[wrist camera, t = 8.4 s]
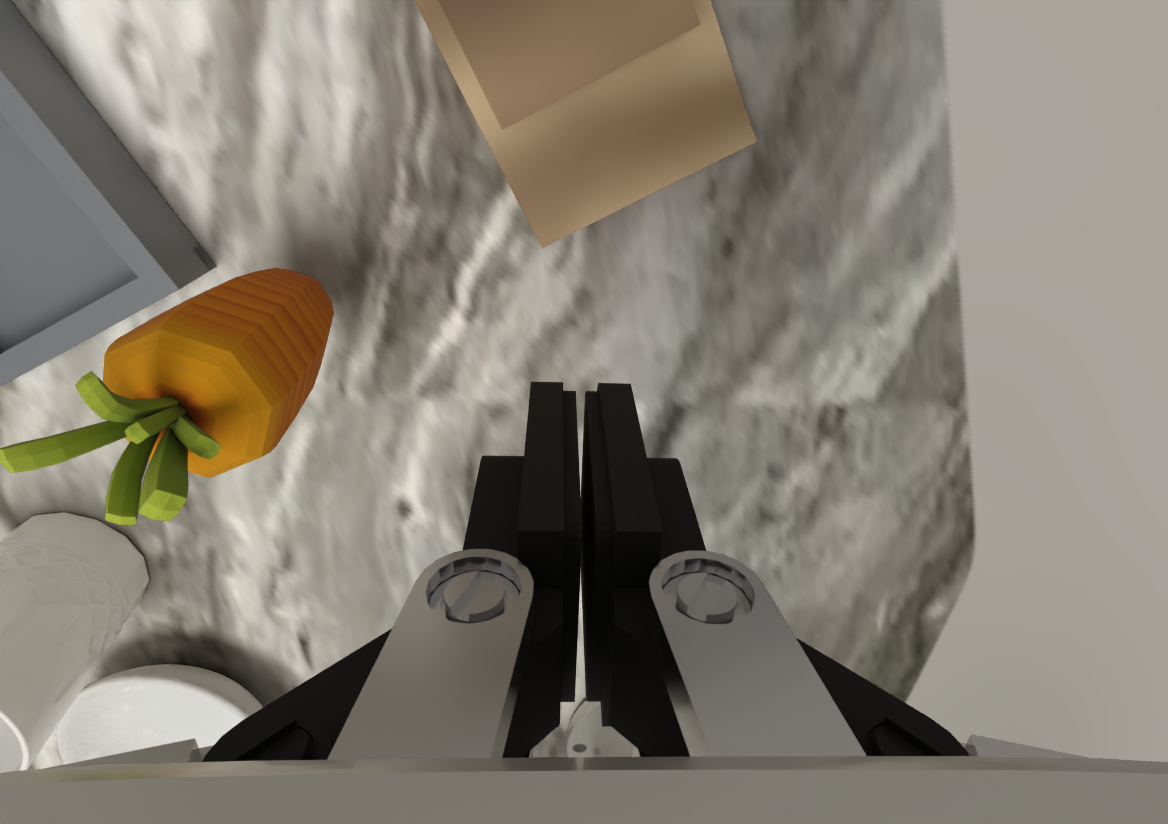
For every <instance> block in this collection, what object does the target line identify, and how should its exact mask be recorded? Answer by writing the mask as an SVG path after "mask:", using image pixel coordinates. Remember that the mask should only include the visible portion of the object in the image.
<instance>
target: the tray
mask: <svg viewBox="0 0 1168 824" xmlns="http://www.w3.org/2000/svg"><path fill="white" fill-rule="evenodd" d="M215 267H216V265H215V264H214V263H213V262H212V260H211V259H210V258H209V256H208V255H207V254H206V253H205V251H204V250H203V249H202V247H201V246H200V245H199V243H198V242H197V241H196V240H195V238H194V237H193V236H192V234H191V233H190V232H189V231H188V229H187V228H186V227H185V225H184V224H183V223H182V221H181V220H180V219H179V218H178V216H177V215H176V214H175V212H174V211H173V210H172V208H171V207H170V206H169V205H168V203H167V202H166V201H165V199H164V198H163V197H162V196H161V194H160V193H159V192H158V190H157V189H156V188H155V186H154V185H153V184H152V183H151V181H150V180H149V179H148V177H147V176H146V175H145V174H144V172H143V171H142V170H141V168H140V167H139V166H138V164H137V163H136V162H135V161H134V159H133V158H132V157H131V155H130V154H129V153H128V152H127V150H126V149H125V148H124V146H123V145H122V144H121V142H120V141H119V140H118V139H117V137H116V136H115V135H114V133H113V132H112V131H111V130H110V128H109V127H108V126H107V124H106V123H105V122H104V120H103V119H102V118H101V117H100V115H99V114H98V113H97V111H96V110H95V109H94V108H93V106H92V105H91V104H90V102H89V101H88V100H87V98H86V97H85V96H84V95H83V93H82V92H81V91H80V89H79V88H78V87H77V86H76V84H75V83H74V82H73V80H72V79H71V78H70V76H69V75H68V74H67V73H66V71H65V70H64V69H63V67H62V66H61V65H60V64H59V62H58V61H57V60H56V58H55V57H54V56H53V54H52V53H51V52H50V51H49V49H48V48H47V47H46V45H45V44H44V43H43V42H42V40H41V39H40V38H39V36H38V35H37V34H36V32H35V31H34V30H33V29H32V27H31V26H30V25H29V23H28V22H27V21H26V20H25V18H24V17H23V16H22V14H21V13H20V12H19V10H18V9H17V8H16V7H15V5H14V4H13V3H12V1H11V0H0V386H2V385H4V384H6V383H8V382H10V381H11V380H13V379H15V378H17V377H19V376H21V375H22V374H24V373H26V372H28V371H30V370H32V369H34V368H35V367H37V366H39V365H41V364H43V363H45V362H46V361H48V360H50V359H52V358H54V357H56V356H57V355H59V354H61V353H63V352H65V351H67V350H68V349H70V348H72V347H74V346H76V345H78V344H80V343H81V342H83V341H85V340H87V339H89V338H91V337H92V336H94V335H96V334H98V333H100V332H102V331H103V330H105V329H107V328H109V327H111V326H113V325H115V324H116V323H118V322H120V321H122V320H124V319H126V318H127V317H129V316H131V315H133V314H135V313H137V312H138V311H140V310H142V309H144V308H146V307H148V306H149V305H151V304H153V303H155V302H157V301H159V300H161V299H162V298H164V297H166V296H168V295H170V294H172V293H173V292H175V291H177V290H179V289H181V288H182V287H184V286H185V285H187V284H189V283H190V282H192V281H194V280H195V279H197V278H199V277H200V276H202V275H203V274H205V273H207V272H208V271H210V270H212V269H213V268H215Z"/></svg>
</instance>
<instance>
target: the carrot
mask: <svg viewBox="0 0 1168 824" xmlns="http://www.w3.org/2000/svg"><path fill="white" fill-rule="evenodd" d="M333 315H334V312H333V306H332V302H331V300H330V298H329V297H328V295H327V294H326V292H325V290H324V289H323V287H322V286H321V284H320V283H319V281H318V280H317V279H314V278H311V277H309V276H306V275H303V274H300V273H297V272H294V271H291V270H285V269H279V268H273V269H267V270H262V271H257V272H253V273H249V274H246V275H242V276H239V277H236V278H233V279H231V280H229V281H227V282H225V283H223V284H220V285H218V286H216V287H214V288H212V289H210V290H208V291H205V292H203V293H201V294H199V295H197V296H195V297H192V298H190V299H188V300H186V301H185V302H183V303H181V304H179V305H177V306H175V307H173V308H171V309H169V310H167V311H165V312H163V313H162V314H160V315H158V316H156V317H154V318H152V319H151V320H149V321H147V322H146V323H144V324H142V325H140V326H139V327H137V328H135V329H134V330H132V331H130V332H128V333H127V334H125V335H123V336H122V337H120V338H118V339H117V340H115V341H114V342H113V343H112V344H111V345H110V346H109V348H108V349H107V351H106V353H105V358H104V372H103V382H102V381H101V380H100V379H99V378H98V377H97V376H96V375H95V374H94V373H93V372H92V371H91V372H89V373H88V374H86V375H84V376H83V377H82V378H81V379H80V380H79V381H78V383H77V384H76V385H75V386H76V388H77V390H78V392H79V394H80V395H81V397H82V399H83V400H84V402H85V403H86V404H87V405H88V406H89V407H90V408H91V409H92V410H93V411H94V412H95V413H96V414H97V415H98V416H99V417H101V418H102V419H105V420H108V421H105V422H101V423H97V424H94V425H90V426H86V427H83V428H79V429H75V430H71V431H68V432H64V433H60V434H56V435H53V436H49V437H45V438H40V439H35V440H31V441H26V442H21V443H17V444H13V445H10V446H7V447H3V448H0V463H1V464H2V465H3V466H4V467H5V468H6V469H7V470H8V471H9V472H10V473H13V472H22V471H30V470H36V469H40V468H43V467H47V466H51V465H54V464H58V463H62V462H64V461H67V460H70V459H72V458H75V457H77V456H80V455H82V454H85V453H87V452H90V451H92V450H95V449H97V448H100V447H103V446H105V445H108V444H110V443H112V442H115V441H117V440H120V439H122V438H126V439H127V440H128V441H129V442H130V443H129V445H128V446H127V448H126V449H125V451H124V452H123V454H122V456H121V458H120V459H119V461H118V463H117V465H116V467H115V468H114V470H113V472H112V476H111V480H110V484H109V488H108V492H107V496H106V510H105V520H106V521H108V522H112V523H115V524H118V525H135V524H136V521H137V515H138V513H140V514H142V515H144V516H146V517H148V518H151V519H153V520H162V521H170V520H172V519H173V518H174V517H175V516H176V515H177V514H178V513H179V512H180V510H181V508H182V507H183V505H184V503H185V501H186V499H187V493H188V472H191V473H194V474H198V475H202V476H205V477H209V478H211V477H214V476H216V475H218V474H221V473H223V472H226V471H228V470H231V469H233V468H236V467H238V466H241V465H243V464H245V463H248V462H250V461H253V460H255V459H258V458H260V457H262V456H264V455H266V454H268V453H270V452H271V451H272V450H273V449H274V448H275V447H276V446H277V444H278V443H279V441H280V440H281V438H282V437H283V435H284V434H285V432H286V431H287V429H288V428H289V426H290V425H291V423H292V422H293V420H294V419H295V417H296V416H297V414H298V412H299V411H300V409H301V407H302V406H303V404H304V402H305V400H306V399H307V397H308V395H309V394H310V392H311V390H312V389H313V386H314V384H315V381H316V378H317V375H318V372H319V369H320V366H321V363H322V359H323V355H324V351H325V348H326V344H327V340H328V335H329V331H330V327H331V323H332V319H333ZM148 460H149V461H151V462H150V464H149V467H148V470H147V472H146V475H145V479H144V482H143V486H142V490H141V480H142V477H143V474H144V471H145V468H146V465H147V462H148ZM140 492H141V494H140ZM138 509H139V512H138Z"/></svg>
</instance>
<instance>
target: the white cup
mask: <svg viewBox="0 0 1168 824" xmlns="http://www.w3.org/2000/svg"><path fill="white" fill-rule="evenodd" d="M148 582H149V576H148V572H147V568H146V564H145V560H144V557H143V556H142V555H141V554H140V552H139V551H138V550H137V549H136V548H135V547H134V545H133V544H132V543H131V542H130V541H129V540H128V538H127V537H126V536H124V535H122V534H121V533H119V532H117V531H116V530H114V529H112V528H110V527H109V526H107V525H105V524H103V523H102V522H100V521H98V520H95V519H91V518H87V517H83V516H79V515H74V514H70V513H66V512H62V513H52V514H43V515H34V516H32V517H31V518H29V519H28V520H26V521H25V522H23V523H22V524H20V525H19V526H17V527H16V528H14V529H13V530H11V531H10V532H9V533H7V534H6V535H5V536H3V537H2V538H1V539H0V773H2V772H10V771H21V770H27V769H28V768H29V766H30V765H31V763H32V762H33V760H34V759H35V757H36V756H37V754H38V753H39V751H40V750H41V749H42V747H43V746H44V744H45V743H46V741H47V740H48V738H49V737H50V735H51V734H52V732H53V731H54V730H55V728H56V727H57V725H58V724H59V722H60V721H61V719H62V718H63V717H64V715H65V714H66V712H67V711H68V709H69V708H70V707H71V705H72V704H73V702H74V701H75V699H76V698H77V696H78V695H79V694H80V692H81V691H82V689H83V688H84V686H85V685H86V684H87V682H88V681H89V679H90V678H91V676H92V675H93V673H94V672H95V670H96V669H97V667H98V666H99V664H100V663H101V661H102V659H103V658H104V656H105V655H106V653H107V651H108V650H109V648H110V647H111V645H112V644H113V642H114V641H115V639H116V638H117V636H118V635H119V633H120V631H121V629H122V625H123V624H124V623H125V621H126V620H127V618H128V617H129V616H130V614H131V613H132V611H133V610H134V609H135V607H136V606H137V604H138V603H139V601H140V600H141V598H142V596H143V594H144V591H145V589H146V587H147V584H148Z"/></svg>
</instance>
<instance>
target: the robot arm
mask: <svg viewBox="0 0 1168 824" xmlns="http://www.w3.org/2000/svg"><path fill="white" fill-rule="evenodd" d="M580 570H581V584H582V609H583V634H584V658H585V683H586V701H585V702H584V703H583V704H582V705H581V706H580V707H579V708H578V709H577V711H576V713H575V714H574V716H573V717H572V719H571V721H570V724H569V727H568V731H567V756H568V757H553V758H533V748H534V747H535V746H536V745H537V744H538V743H539V742H540V741H541V740H543V739H544V738H545V737H546V736H547V735H548V734H549V733H550V732H551V731H553V730H554V729H555V728H556V727H559V724H560V702H574V701H575V681H576V659H577V637H578V614H579V592H580ZM0 824H1168V762H1152V761H1133V760H1118V759H1117V760H1116V759H1102V758H1087V757H1082V756H1076V755H1071V754H1067V753H1062V752H1056V751H1051V750H1047V749H1041V748H1036V747H1031V746H1026V745H1021V744H1016V743H1011V742H1006V741H1001V740H996V739H991V738H986V737H981V736H976V735H971V736H970V738H969V740H968V742H967V744H964V743H959V742H958V741H957V740H956V738H955V737H954V736H953V735H952V734H951V733H950V732H948V731H947V730H946V729H944V728H943V727H942V726H940V725H939V724H938V723H936V722H935V721H934V720H932V719H931V718H929V717H928V716H926V715H924V714H923V713H921V712H919V711H918V710H916V709H914V708H913V707H911V706H909V705H908V704H906V703H904V702H903V701H901V700H899V699H898V698H896V697H894V696H893V695H891V694H889V693H888V692H886V691H884V690H882V689H881V688H879V687H877V686H876V685H874V684H872V683H871V682H869V681H867V680H866V679H864V678H862V677H861V676H859V675H857V674H856V673H854V672H852V671H851V670H849V669H847V668H846V667H844V666H842V665H841V664H839V663H837V662H836V661H834V660H832V659H831V658H829V657H827V656H826V655H824V654H822V653H821V652H819V651H817V650H816V649H814V648H812V647H811V646H809V645H807V644H806V643H804V642H802V641H801V640H799V639H797V638H796V637H795V636H794V634H793V632H792V631H791V629H790V627H789V626H788V624H787V622H786V621H785V619H784V617H783V616H782V614H781V612H780V611H779V609H778V607H777V606H776V604H775V602H774V601H773V599H772V597H771V596H770V594H769V592H768V591H767V589H766V587H765V586H764V584H763V582H762V581H761V580H760V579H759V578H758V576H757V575H756V574H755V573H754V572H753V571H752V570H751V569H749V568H748V567H746V566H745V565H744V564H742V563H741V562H739V561H737V560H735V559H733V558H730V557H728V556H726V555H723V554H718V553H714V552H709V551H706V548H705V545H704V542H703V538H702V535H701V532H700V528H699V525H698V521H697V518H696V515H695V511H694V508H693V505H692V501H691V498H690V495H689V491H688V488H687V485H686V481H685V478H684V475H683V471H682V468H681V465H680V462H679V460H678V459H676V458H647V456H646V452H645V447H644V442H643V438H642V433H641V429H640V424H639V420H638V415H637V410H636V406H635V401H634V397H633V392H632V388H631V384H616V383H598V388H597V392H596V391H586V393H585V410H584V433H583V457H582V481H581V497H580V475H579V454H578V432H577V410H576V391H563V382H531V388H530V399H529V410H528V421H527V431H526V442H525V453H524V456H482V458H481V462H480V467H479V472H478V477H477V482H476V487H475V492H474V497H473V502H472V507H471V512H470V516H469V521H468V526H467V531H466V536H465V541H464V546H463V551H458V552H454V553H451V554H449V555H447V556H444V557H442V558H440V559H438V560H436V561H435V562H434V563H432V564H431V565H430V566H428V567H427V568H426V569H424V571H423V572H422V574H421V575H420V576H419V578H418V579H417V580H416V582H415V584H414V586H413V588H412V590H411V592H410V594H409V596H408V598H407V600H406V602H405V604H404V606H403V608H402V610H401V612H400V614H399V616H398V618H397V620H396V622H395V624H394V626H393V628H392V629H390V630H389V631H387V632H386V633H384V634H382V635H381V636H379V637H377V638H376V639H374V640H373V641H371V642H369V643H368V644H366V645H364V646H363V647H361V648H360V649H358V650H356V651H355V652H353V653H351V654H350V655H348V656H346V657H345V658H343V659H342V660H340V661H338V662H337V663H335V664H333V665H332V666H330V667H329V668H327V669H325V670H324V671H322V672H320V673H319V674H317V675H316V676H314V677H312V678H311V679H309V680H307V681H306V682H304V683H302V684H301V685H299V686H298V687H296V688H294V689H293V690H291V691H289V692H288V693H286V694H285V695H283V696H281V697H280V698H278V699H276V700H275V701H273V702H272V703H270V704H268V705H267V706H265V707H263V708H262V709H260V710H259V711H257V712H255V713H254V714H252V715H250V716H249V717H247V718H245V719H244V720H242V721H241V722H240V723H238V724H237V725H236V726H234V727H233V728H232V729H230V730H229V731H228V732H226V733H225V734H224V735H223V736H221V738H220V739H219V740H218V741H217V742H216V743H215V745H213V746H208V747H203V748H198V745H197V742H196V740H195V738H194V739H189V740H184V741H179V742H174V743H169V744H164V745H159V746H154V747H149V748H144V749H139V750H134V751H129V752H124V753H119V754H115V755H110V756H105V757H100V758H95V759H90V760H85V761H80V762H75V763H70V764H65V765H60V766H55V767H50V768H45V769H36V770H21V771H10V772H2V773H0Z"/></svg>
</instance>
